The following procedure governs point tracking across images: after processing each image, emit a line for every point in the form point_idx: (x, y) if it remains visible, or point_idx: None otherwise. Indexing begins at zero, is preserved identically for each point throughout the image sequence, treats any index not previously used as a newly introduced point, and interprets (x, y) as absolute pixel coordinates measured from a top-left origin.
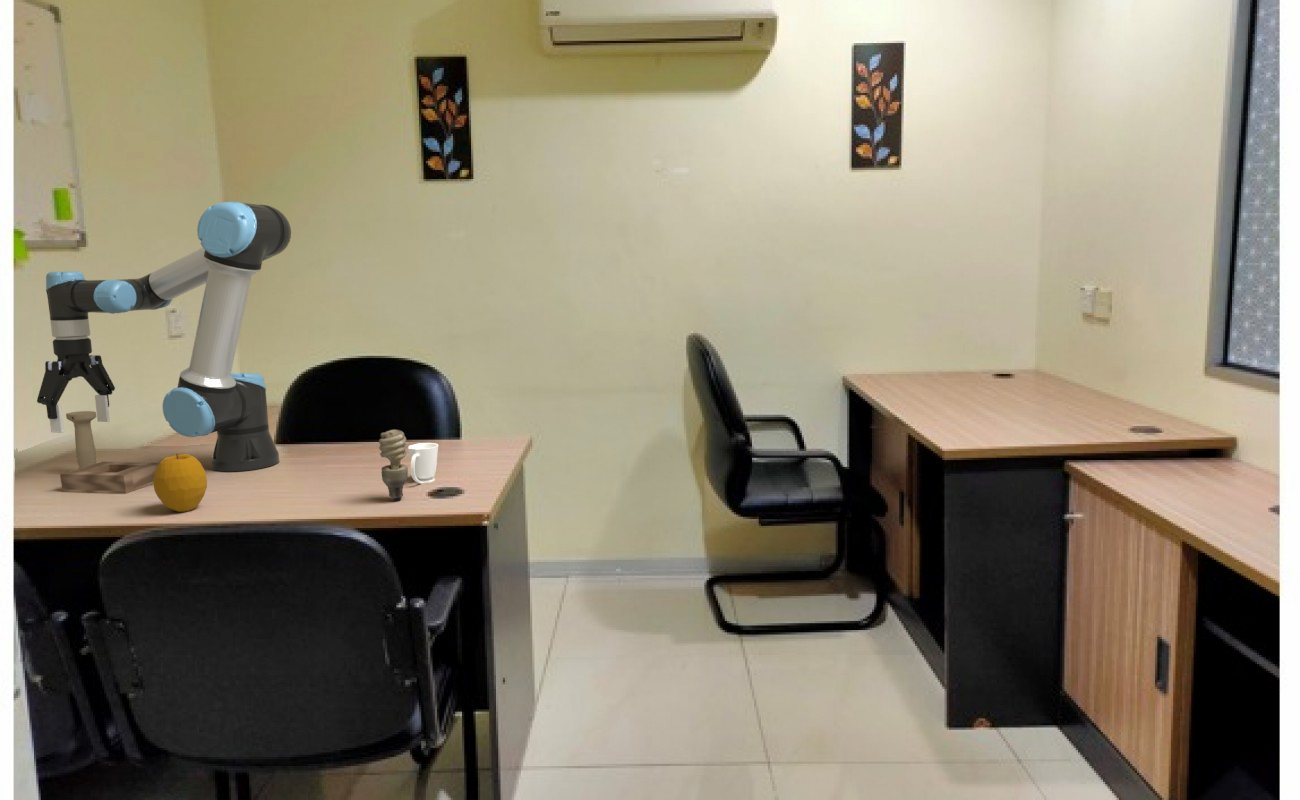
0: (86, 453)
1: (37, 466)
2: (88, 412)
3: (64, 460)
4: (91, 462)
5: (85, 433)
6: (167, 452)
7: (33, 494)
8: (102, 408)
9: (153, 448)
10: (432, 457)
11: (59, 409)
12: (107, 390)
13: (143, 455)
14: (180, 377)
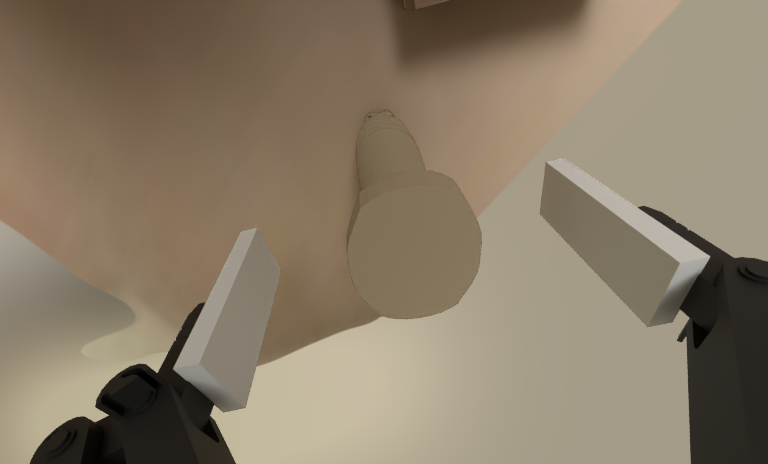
0: (406, 131)
1: (363, 313)
2: (385, 242)
3: (303, 317)
4: (388, 116)
5: (412, 168)
6: (62, 181)
7: (623, 38)
8: (247, 297)
9: (89, 265)
10: None
11: (665, 233)
12: (137, 418)
13: (146, 212)
14: None
